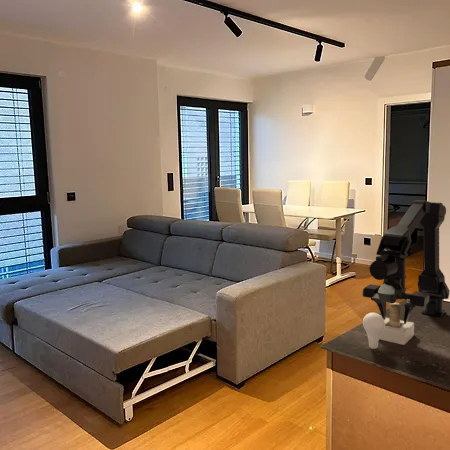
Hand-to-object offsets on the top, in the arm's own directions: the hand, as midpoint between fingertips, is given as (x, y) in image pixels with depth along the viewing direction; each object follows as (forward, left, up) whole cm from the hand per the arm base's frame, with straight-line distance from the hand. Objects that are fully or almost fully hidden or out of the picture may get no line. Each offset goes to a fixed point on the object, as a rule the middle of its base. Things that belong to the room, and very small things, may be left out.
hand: (394, 321), depth 141 cm
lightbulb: (+12, -2, -5) cm, 13 cm away
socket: (0, 0, -5) cm, 5 cm away
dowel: (0, 0, -4) cm, 4 cm away
